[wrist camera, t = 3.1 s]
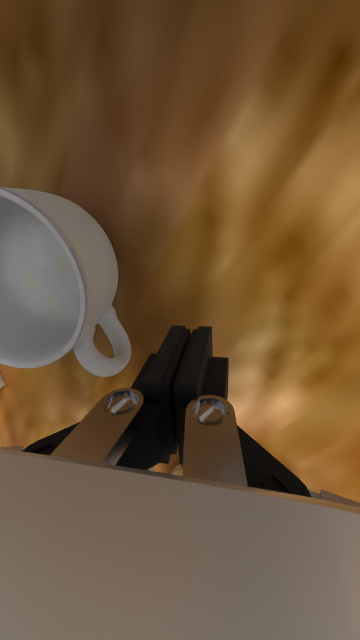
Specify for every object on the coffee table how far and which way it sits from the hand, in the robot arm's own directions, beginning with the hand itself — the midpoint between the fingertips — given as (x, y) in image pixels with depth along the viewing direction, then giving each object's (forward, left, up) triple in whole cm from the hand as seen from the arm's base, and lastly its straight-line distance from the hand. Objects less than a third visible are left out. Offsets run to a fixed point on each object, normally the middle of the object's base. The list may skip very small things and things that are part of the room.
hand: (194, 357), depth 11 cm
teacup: (+11, -1, -10) cm, 15 cm away
